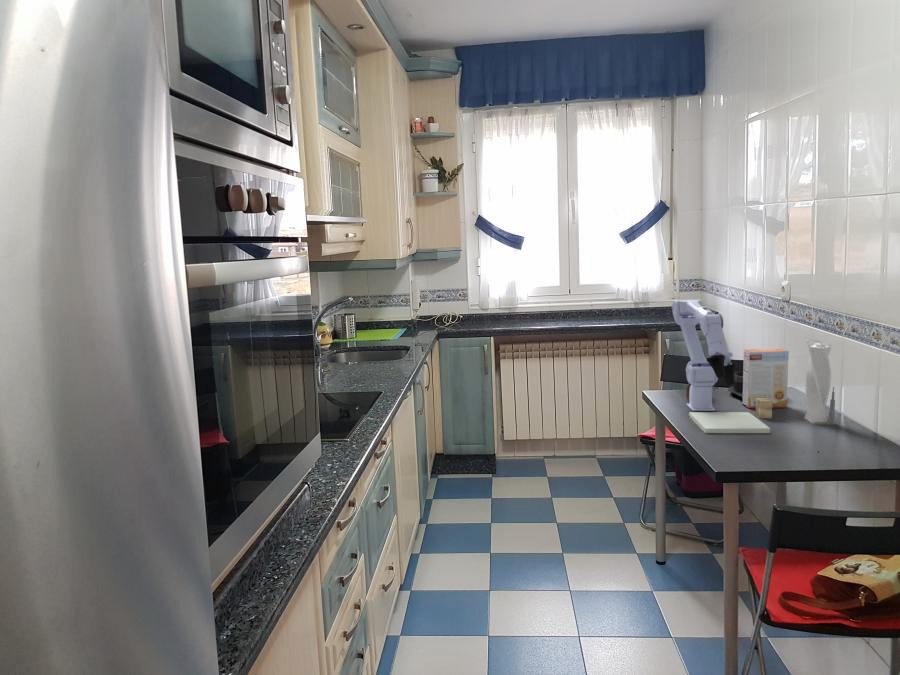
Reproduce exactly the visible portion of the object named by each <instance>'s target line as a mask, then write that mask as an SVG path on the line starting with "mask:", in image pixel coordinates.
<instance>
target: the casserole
mask: <svg viewBox="0 0 900 675" xmlns="http://www.w3.org/2000/svg"><path fill="white" fill-rule="evenodd" d="M727 391H728V392H729V393H732V394H734V395H736V396H738V397H741V398H743V370H742V371H741V370H740V371H735V375H734V385H732V386H728V388H727Z"/></svg>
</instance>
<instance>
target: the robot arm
mask: <svg viewBox="0 0 900 675" xmlns="http://www.w3.org/2000/svg"><path fill="white" fill-rule="evenodd" d="M671 307H672V309H671V310H672V316H673V319H674V321H675V324H677V325H678V326H680V329H681V332H682V336H683V339H684V341H685V345H686V348H687V351H688V355H689V358H690V361H688V363H687V364H686V367H685V376H686V380H687V382H688V383H690V384H691V386H690V390H689V401H688V403H686V406H687V407H688V408H689V409H691V411H692V412H716V408H714V407H713V386H715V384H716V383H717V382H718V380H721V379H722V378H723V379H724V383H725V384H726V386H727V387H732V386H733V385H734V375H735V372H737V365H736V363H732V362H731V357H733V353H732V352H730V351H729V350H728V346H727V342H726V339H725V334H724V330H723V328H724V317H723V316H722V314H721V313H717V314H715V313H714V312H712V311H711V310H710V309H709V308H708V306H703V302H702V300H701V299H700V298H698V299H697V298H696V299H674V301H673V303H672V306H671ZM698 324H699V327H700V330H701V331H702V334H703V336H704V337H705V338H706V343H707V346H708V352H707V353H708V355H709V356H710V357H706V356H705V354H704V350H703V347H702V344H701V341H700V338H699V335H698V331H697V329H696V326H697V325H698Z"/></svg>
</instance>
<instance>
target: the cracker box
mask: <svg viewBox="0 0 900 675" xmlns="http://www.w3.org/2000/svg"><path fill="white" fill-rule="evenodd" d="M789 352H790V351H789V350H787V349H784V348H757V349H755V348H753V349H743V365H742V366H743V368H742V369H743V370H742V371H743V397H742V405H743V404H744V405H746V406H747V407H748V409H756V398H769V399H770V400H772V409H775V408H782V409H783V408H787V407H788V406H787V404H788V403H787V402H788V383H789V382H788V380H789V354H790V353H789ZM744 405H743V406H744ZM746 406H745V407H746ZM747 407H746V408H747Z"/></svg>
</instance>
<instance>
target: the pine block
mask: <svg viewBox="0 0 900 675" xmlns="http://www.w3.org/2000/svg"><path fill="white" fill-rule="evenodd" d="M756 415H757V416H758V417H757V416H756ZM755 416H756V417H757V418H758V419H772V418H773V408H772V400H770V399H769V398H756V408H755Z"/></svg>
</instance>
